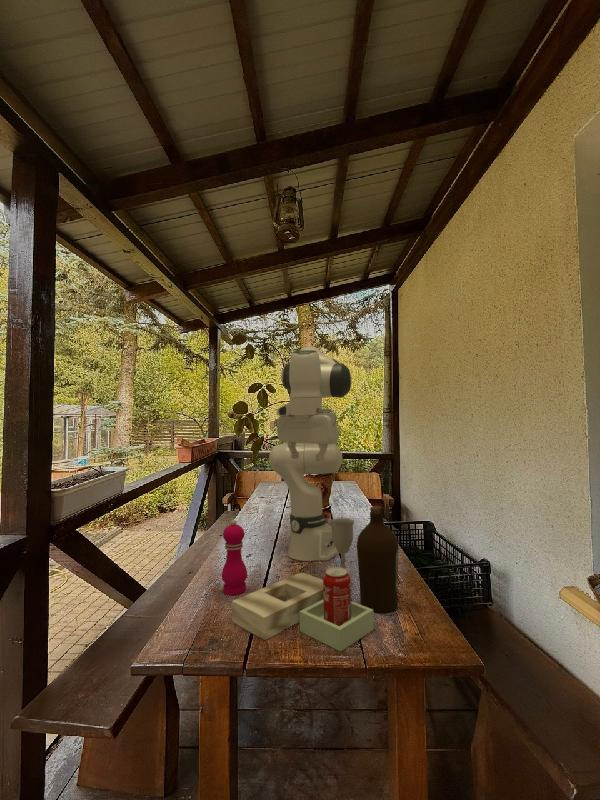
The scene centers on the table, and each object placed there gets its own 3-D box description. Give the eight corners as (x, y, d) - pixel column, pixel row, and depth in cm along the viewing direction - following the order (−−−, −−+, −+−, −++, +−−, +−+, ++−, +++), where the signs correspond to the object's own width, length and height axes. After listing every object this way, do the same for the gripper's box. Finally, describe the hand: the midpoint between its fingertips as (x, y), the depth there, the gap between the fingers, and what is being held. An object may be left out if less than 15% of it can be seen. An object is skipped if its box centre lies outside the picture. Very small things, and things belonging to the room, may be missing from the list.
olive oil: (362, 615, 103) (360, 513, 104) (354, 596, 114) (352, 503, 114) (405, 613, 104) (402, 511, 104) (393, 594, 114) (391, 502, 115)
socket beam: (302, 590, 119) (301, 572, 119) (335, 603, 110) (334, 583, 110) (232, 621, 101) (232, 601, 102) (264, 640, 93) (264, 617, 93)
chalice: (359, 581, 123) (358, 520, 124) (350, 590, 117) (348, 525, 118) (337, 577, 127) (335, 517, 127) (327, 585, 121) (325, 522, 121)
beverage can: (334, 614, 101) (333, 564, 101) (356, 622, 97) (355, 570, 97) (318, 625, 96) (317, 572, 96) (341, 634, 92) (340, 578, 92)
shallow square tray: (333, 612, 105) (333, 594, 105) (373, 629, 97) (373, 609, 97) (299, 631, 97) (299, 611, 97) (340, 651, 88) (340, 629, 88)
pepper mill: (219, 587, 121) (218, 518, 122) (244, 583, 124) (243, 515, 124) (224, 598, 115) (223, 524, 115) (250, 593, 117) (248, 521, 117)
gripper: (343, 407, 110) (344, 461, 109) (289, 409, 124) (290, 456, 124) (327, 408, 105) (328, 463, 105) (272, 409, 119) (273, 458, 119)
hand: (307, 459), depth 114 cm, fingers open, 8 cm apart
